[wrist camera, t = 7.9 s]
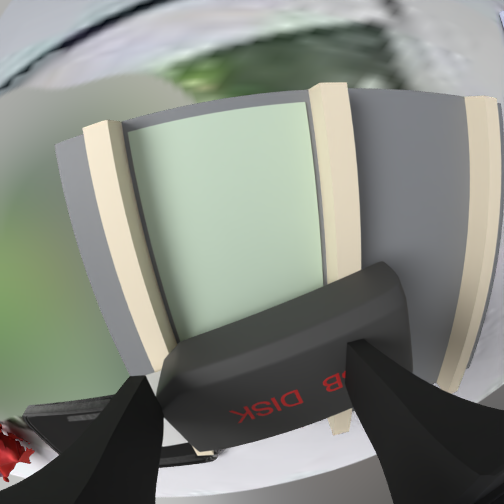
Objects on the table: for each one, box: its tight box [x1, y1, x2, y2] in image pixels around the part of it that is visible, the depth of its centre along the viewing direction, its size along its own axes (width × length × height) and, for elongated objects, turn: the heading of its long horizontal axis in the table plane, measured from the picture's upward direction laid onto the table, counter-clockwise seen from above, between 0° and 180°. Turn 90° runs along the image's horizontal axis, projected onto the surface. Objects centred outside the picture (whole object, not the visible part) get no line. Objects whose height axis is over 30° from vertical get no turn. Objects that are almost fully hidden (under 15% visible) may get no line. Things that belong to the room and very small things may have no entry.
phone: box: [22, 394, 218, 468], centre depth 17 cm, size 8×1×15 cm
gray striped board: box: [55, 83, 504, 456], centre depth 13 cm, size 22×18×2 cm
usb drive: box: [146, 261, 413, 452], centre depth 11 cm, size 5×12×3 cm, turn 112°
